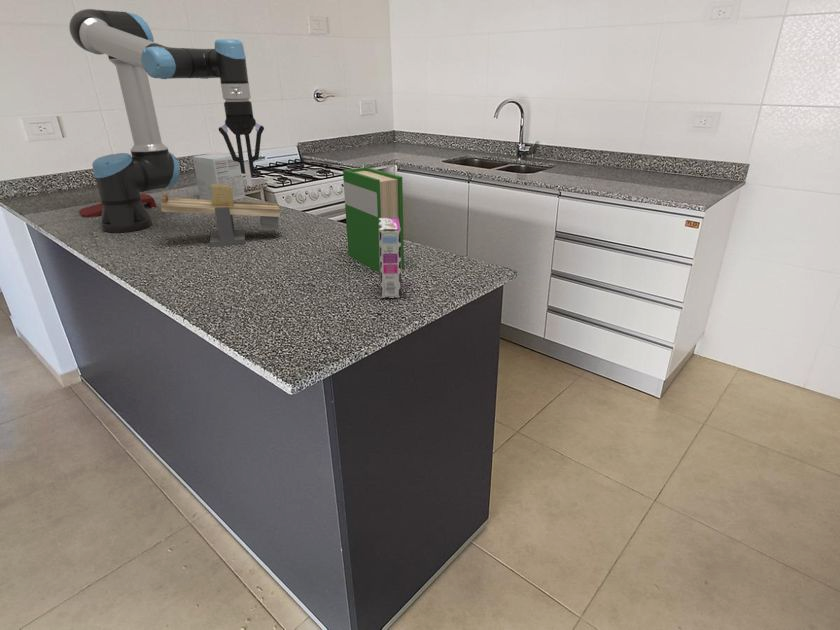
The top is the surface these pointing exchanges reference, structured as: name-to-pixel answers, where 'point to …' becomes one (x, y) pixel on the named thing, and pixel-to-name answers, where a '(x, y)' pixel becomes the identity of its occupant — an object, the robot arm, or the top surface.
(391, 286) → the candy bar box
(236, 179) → the supplement box
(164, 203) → the beam
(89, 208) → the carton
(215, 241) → the pivot stand
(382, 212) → the hardback book
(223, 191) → the rider
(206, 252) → the top surface
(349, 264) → the top surface
